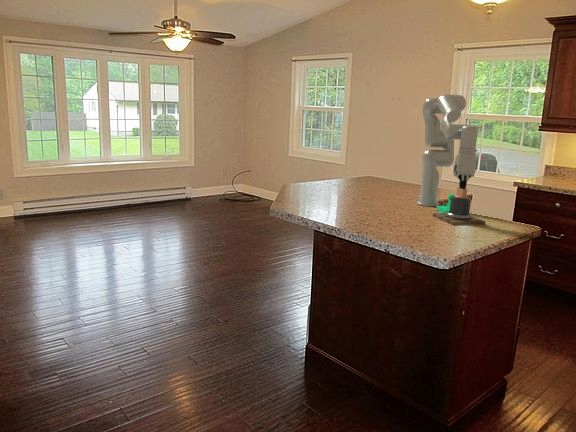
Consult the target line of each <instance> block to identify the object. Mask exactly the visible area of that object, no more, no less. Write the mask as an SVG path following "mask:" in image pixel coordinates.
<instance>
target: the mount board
mask: <svg viewBox="0 0 576 432" xmlns="http://www.w3.org/2000/svg"><path fill="white" fill-rule="evenodd" d="M432 217H434V218H437V219H438V220H441V221H442V220H443V222H445V223H447V224H449V223H450V224H449V225H451V224H452V226H455V225H454V224H476V225H485V224H486V220H483V219H480V218H478V217H476V216H473V215H472V217H471V219H470V220H456V219H451V218H448V217H446V213H441V212H439V213H433V214H432Z"/></svg>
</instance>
